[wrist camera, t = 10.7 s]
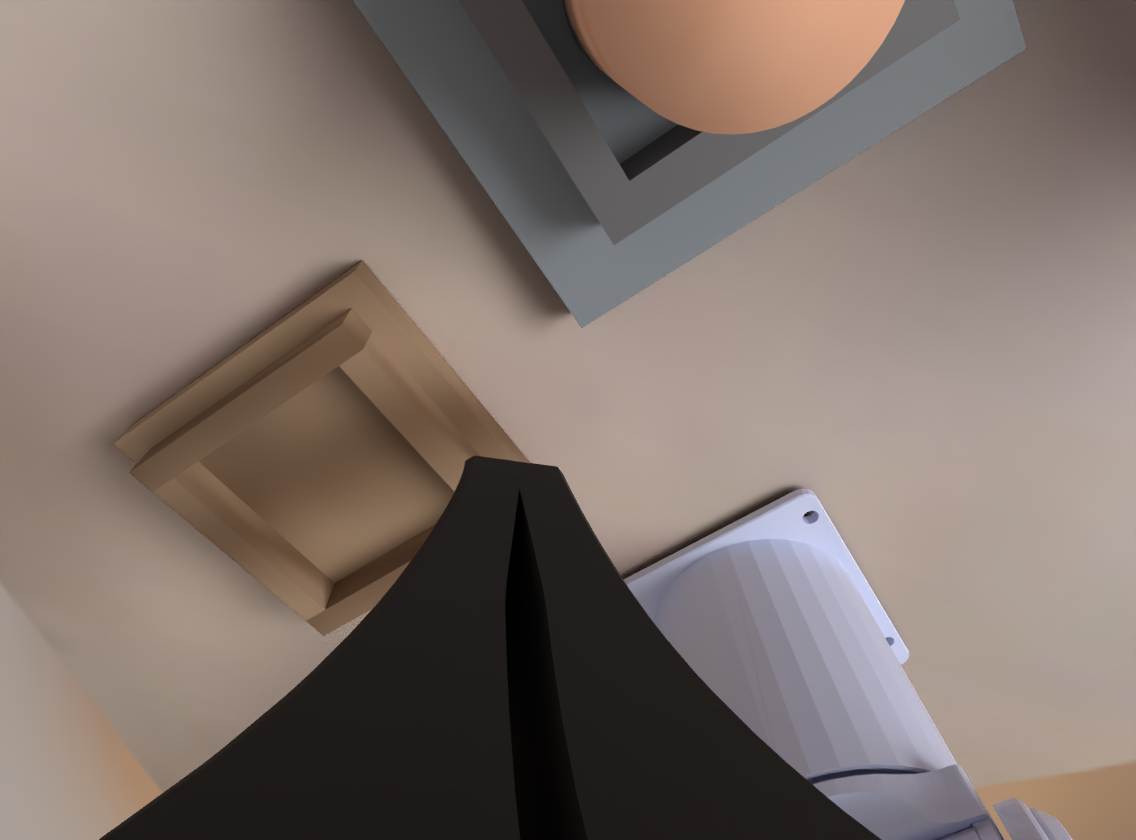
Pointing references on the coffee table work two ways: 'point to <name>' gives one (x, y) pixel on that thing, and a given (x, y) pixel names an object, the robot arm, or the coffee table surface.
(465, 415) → the holder
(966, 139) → the coffee table surface
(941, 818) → the robot arm
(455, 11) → the socket board
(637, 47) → the peg
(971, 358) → the coffee table surface
